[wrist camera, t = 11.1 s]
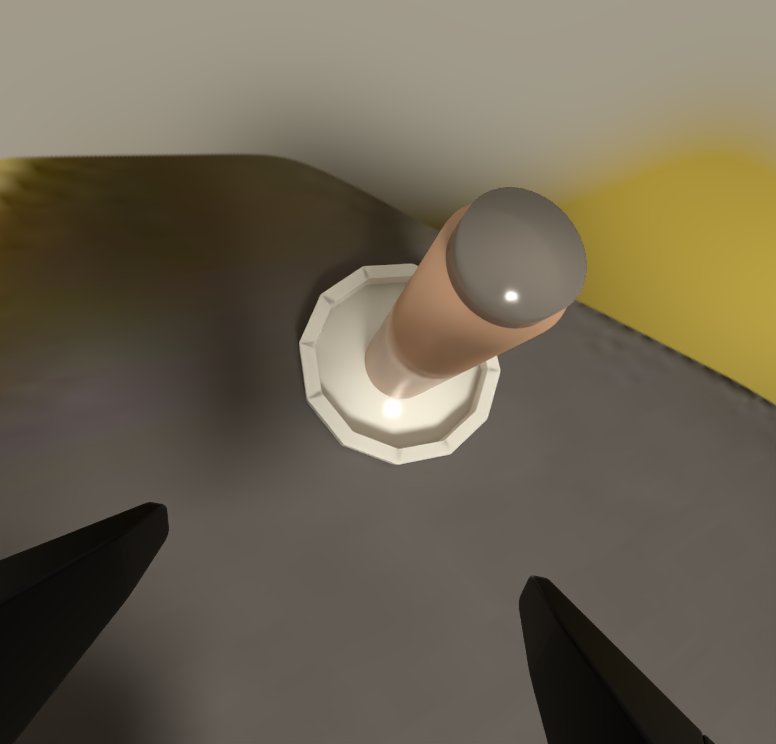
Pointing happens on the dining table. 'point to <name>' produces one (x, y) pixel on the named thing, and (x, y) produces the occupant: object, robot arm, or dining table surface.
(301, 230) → the dining table surface
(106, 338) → the dining table surface
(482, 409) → the tray
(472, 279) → the spice jar
